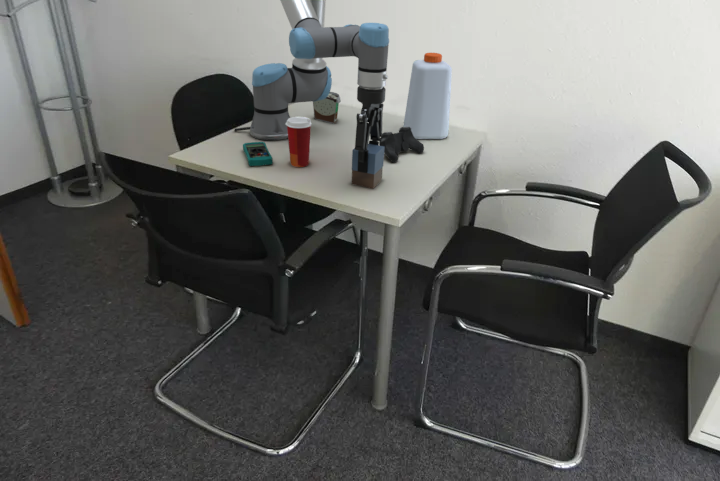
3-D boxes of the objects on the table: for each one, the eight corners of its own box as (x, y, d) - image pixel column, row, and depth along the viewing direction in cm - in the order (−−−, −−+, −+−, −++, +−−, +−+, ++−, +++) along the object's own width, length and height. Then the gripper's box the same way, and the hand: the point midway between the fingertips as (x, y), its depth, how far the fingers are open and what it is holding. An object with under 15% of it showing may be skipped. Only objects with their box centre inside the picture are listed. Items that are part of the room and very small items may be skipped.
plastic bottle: (440, 126, 201) (449, 50, 187) (450, 140, 188) (461, 59, 174) (401, 126, 199) (407, 49, 185) (409, 140, 186) (416, 58, 172)
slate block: (351, 169, 149) (352, 149, 146) (361, 161, 155) (362, 142, 152) (374, 174, 147) (375, 154, 144) (383, 166, 153) (384, 146, 150)
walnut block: (351, 184, 152) (351, 169, 149) (360, 176, 157) (361, 161, 155) (373, 188, 149) (374, 174, 147) (381, 180, 155) (382, 166, 153)
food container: (346, 120, 203) (347, 94, 198) (337, 124, 198) (338, 98, 193) (320, 114, 208) (320, 89, 203) (311, 118, 204) (311, 92, 199)
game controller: (412, 155, 181) (404, 126, 179) (426, 151, 176) (418, 121, 174) (379, 166, 171) (370, 136, 169) (393, 162, 166) (384, 131, 164)
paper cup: (314, 160, 166) (313, 116, 159) (309, 169, 160) (309, 124, 153) (289, 158, 167) (288, 115, 160) (284, 167, 160) (282, 122, 153)
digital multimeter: (249, 167, 159) (248, 158, 158) (242, 150, 171) (242, 142, 170) (273, 165, 161) (273, 156, 160) (265, 149, 173) (264, 140, 172)
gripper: (370, 97, 130) (366, 182, 142) (397, 80, 146) (391, 158, 158) (342, 92, 133) (341, 176, 144) (372, 77, 149) (368, 154, 160)
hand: (367, 167), depth 151 cm, fingers closed on slate block, 7 cm apart
